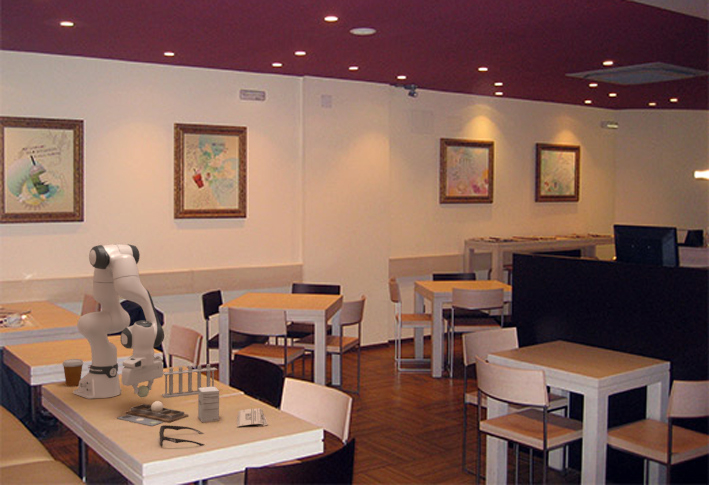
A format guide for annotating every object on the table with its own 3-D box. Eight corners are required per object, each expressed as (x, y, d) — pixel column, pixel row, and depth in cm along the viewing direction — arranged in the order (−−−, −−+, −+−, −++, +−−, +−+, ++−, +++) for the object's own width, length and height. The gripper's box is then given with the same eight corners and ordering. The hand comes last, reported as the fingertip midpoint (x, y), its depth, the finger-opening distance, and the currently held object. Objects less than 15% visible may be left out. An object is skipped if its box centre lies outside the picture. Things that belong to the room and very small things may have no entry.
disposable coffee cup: (76, 381, 351) (76, 357, 350) (87, 384, 345) (87, 360, 345) (58, 385, 343) (58, 361, 343) (69, 388, 338) (69, 363, 337)
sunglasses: (158, 435, 269) (160, 422, 269) (203, 438, 273) (205, 425, 273) (157, 449, 253) (158, 436, 253) (204, 452, 257) (206, 438, 257)
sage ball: (133, 397, 298) (134, 385, 298) (142, 395, 303) (143, 383, 302) (142, 399, 296) (142, 387, 296) (151, 397, 300) (151, 385, 300)
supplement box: (197, 417, 292) (197, 387, 292) (215, 415, 295) (215, 386, 295) (201, 422, 285) (201, 391, 285) (219, 420, 288) (219, 390, 288)
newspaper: (268, 428, 281) (267, 422, 281) (237, 432, 280) (236, 426, 279) (266, 411, 304) (266, 406, 304) (238, 415, 302) (237, 409, 302)
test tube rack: (164, 398, 323) (164, 369, 322) (161, 395, 327) (161, 367, 326) (217, 392, 335) (217, 364, 334) (214, 390, 338) (214, 362, 338)
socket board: (126, 413, 297) (126, 408, 297) (146, 407, 306) (146, 402, 306) (169, 422, 284) (169, 417, 284) (188, 416, 294) (188, 411, 294)
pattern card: (116, 418, 289) (116, 417, 289) (128, 415, 295) (128, 413, 295) (152, 426, 279) (152, 425, 279) (163, 422, 285) (163, 421, 285)
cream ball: (148, 413, 294) (148, 401, 294) (157, 410, 299) (157, 399, 298) (157, 415, 292) (157, 403, 292) (165, 412, 296) (165, 400, 296)
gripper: (156, 354, 309) (155, 385, 310) (119, 362, 291) (118, 395, 292) (166, 356, 306) (166, 387, 307) (130, 364, 288) (129, 398, 289)
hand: (142, 391), depth 299 cm, fingers closed on sage ball, 5 cm apart
